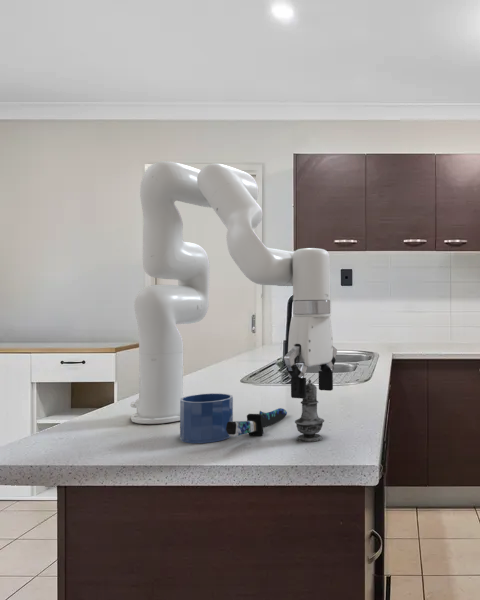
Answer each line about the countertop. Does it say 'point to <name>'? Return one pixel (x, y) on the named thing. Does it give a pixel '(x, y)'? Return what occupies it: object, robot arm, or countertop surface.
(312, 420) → the salt shaker
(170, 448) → the countertop surface
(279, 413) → the knife
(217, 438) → the blue cup
